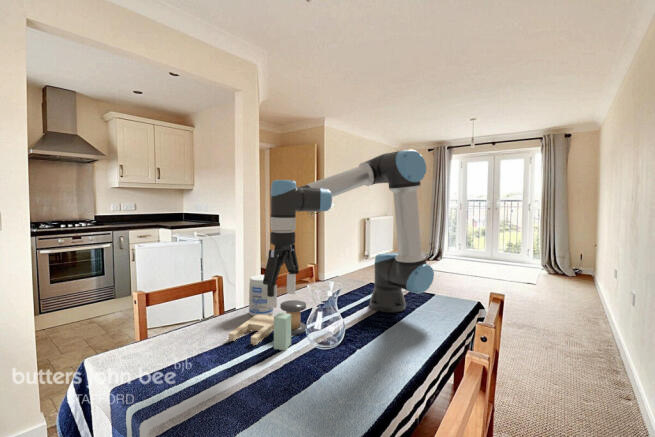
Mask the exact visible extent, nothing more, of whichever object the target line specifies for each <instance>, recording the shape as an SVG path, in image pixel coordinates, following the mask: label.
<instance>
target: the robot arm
mask: <svg viewBox="0 0 655 437" xmlns="http://www.w3.org/2000/svg"><path fill="white" fill-rule="evenodd" d="M426 174H427V164H426V160H425V158H424V157H423V155H422V154H420V152H419V151H417V150H414V149H404V150H403V149H402V150H398V151H393V152H386V153H382V154H380V155H378V156H375V157H372V158H371V159H368V160H366V161H364V162H361V163H360V164H359V165H358V166H357V167H354V168H351V169H347V170H345V171H342V172H339V173H337V174H334V175H331V176H327V177H324V178H321V179H319V180H316V181H313V182H310V183H307V184H305V185H302V186H297V182H296V181H295V180H293V179H292V180H290V179H276V180H273V181H272V182H271V185H270V186H271V187H270V220H269V223H270V230H271V232H270V235H269V236H270V237H269V238H270V240H269V242H270V244H271V245H273V246H274V249H269V250H268V258H267V262H266V266H265V270H264V274H263V275H264V279H263V284H264V285H267V307H273V309H275V308H277V306H278V284H277V280H278V278H279V274H280V271H281V268H282V266H283V265H285V267H286V270H287V272H288V273H287V274H286V294H288V295H295V294H296V282H297V281H296V274H299V273H300V272H299V263H298V258H297V253H296V244H295V243H296V232H295V231H296V228H297V226H296V224H297V223H296V217H297V216H296V213H297V212H298V213H299V212H300V213H301V212H304V213H305V212H306V213H307V212H309V213H310V212H312V213H313V212H318V213H321V212H328V211H329V210H330V209H331V207H332V203H333V198H335V197H336V196H339V195H342V194H344V193H347V192H350V191H352V190H354V189H357V188H360V187H363V186H366V187H370V186H373V185H377V184H388V190H390V192H392V193H393V205H394V213H395V214H394V215H395V216H394V217H395V226H396V228H395V229H396V239H397V249H398V252H393V253H392V252H390V253H387V252H385V253H377V254H376V255H375V258H374V259H375V260H374V288H373V291H372V294H371V296H370V299H369V307H370V308H372V309H373V310H375V311H378V312H383V313H400V312H403V311H405V310H406V307H407V306H406V305H407V304H406V298H405V296H404V293H403V290H406V291H407V292H409V293H413V294H414V293H415V294H416V295H417V294H423V293H425V292H426V291H428V290H429V289H430V287H431V286H432V284H433V281H434V278H435V273H434V272H435V271H434V269H433V267H431V265H430V264H428V263H427V256H426V255H425V254H424V253H423V252H422V242H421V229H420V227H421V226H420V216H419V201H418V189H419V188H420V187H421V182H422V180H423V179H424V178H425V176H426Z"/></svg>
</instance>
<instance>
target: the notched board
mask: <svg viewBox="0 0 655 437" xmlns="http://www.w3.org/2000/svg"><path fill="white" fill-rule="evenodd" d="M275 316H276V315H269V316H268V315H261V314H256V315H255V316H252V317H251V318H249V319H248V320H246V321H245V322H243V323H242V324H241V325H239V326H237V327H236V328H235V329H233V330H232V331H231V332H229V333H228V341H229V340H232V341H235V340H236V339H237V338H239V337H240V336H242V335H243V334H244V333H246V332H247V331H248V332H250V331H249V330H252V331H251V332H254V331H258V332H255V333H254V334H252V335H251V337H250V345H251V344H253V345H252V346H255V345H257V344H258V343H259V342H260V343H261V342H263V341H264V340H265V339H266V338H267V337H268V336H270V333H271V332H272V331H273V332H274V317H275ZM248 332H247V333H248ZM273 332H272V333H273ZM247 333H246V334H247ZM272 333H271V334H272ZM244 335H245V334H244ZM244 335H243V336H244ZM243 336H242V337H243ZM265 337H266V338H265ZM240 338H241V337H240ZM240 338H239V339H240ZM264 338H265V339H264ZM263 339H264V340H263ZM262 340H263V341H262ZM236 341H237V340H236ZM236 341H235V342H236ZM260 343H259V344H260ZM259 344H258V345H259ZM258 345H257V346H258Z"/></svg>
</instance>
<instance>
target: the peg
mask: <svg viewBox="0 0 655 437" xmlns="http://www.w3.org/2000/svg"><path fill="white" fill-rule="evenodd" d="M274 316H275V317H274V331H273V349H274V350H278V349H279V351H283V350H284V352H285V351H288V349H289V348H290V347H291V346H292V335H291V314H287V313H286V312H279V313H277V314H276V315H274ZM290 345H291V346H290ZM289 346H290V347H289ZM288 347H289V348H288Z"/></svg>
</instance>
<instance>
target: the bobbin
mask: <svg viewBox="0 0 655 437" xmlns="http://www.w3.org/2000/svg"><path fill="white" fill-rule="evenodd" d="M279 306H280V310H282V311H284V312H285V313H287V314H291V336H297V334H298V335H301V334H303V333H305V332H306V331H305V329H306V330H307V325H306V324H305V323H303V322H302V321H301V312H302V311H304V310H306V309H307V303H306V302H305V301H303V300H298V299H297V300H295V299H293V300H292V299H291V300H286V301H283V302H281V303H280V305H279Z"/></svg>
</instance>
